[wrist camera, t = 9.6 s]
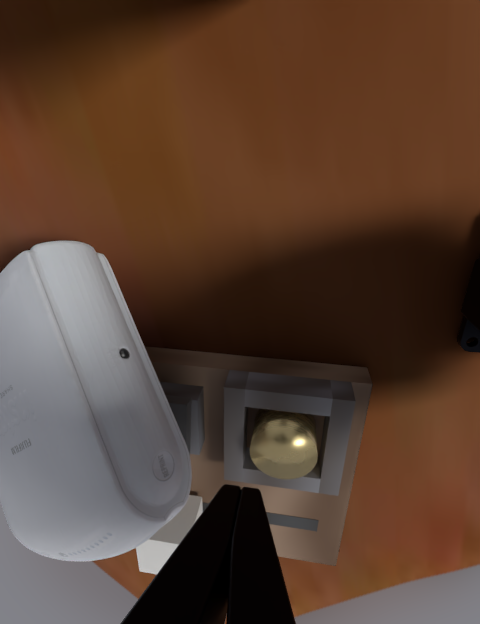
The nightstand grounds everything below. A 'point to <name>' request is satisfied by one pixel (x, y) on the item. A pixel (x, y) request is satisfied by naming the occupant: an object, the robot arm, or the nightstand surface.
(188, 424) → the rocker switch
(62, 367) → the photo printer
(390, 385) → the nightstand surface
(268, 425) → the brass button
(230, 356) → the control panel
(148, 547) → the slider knob
